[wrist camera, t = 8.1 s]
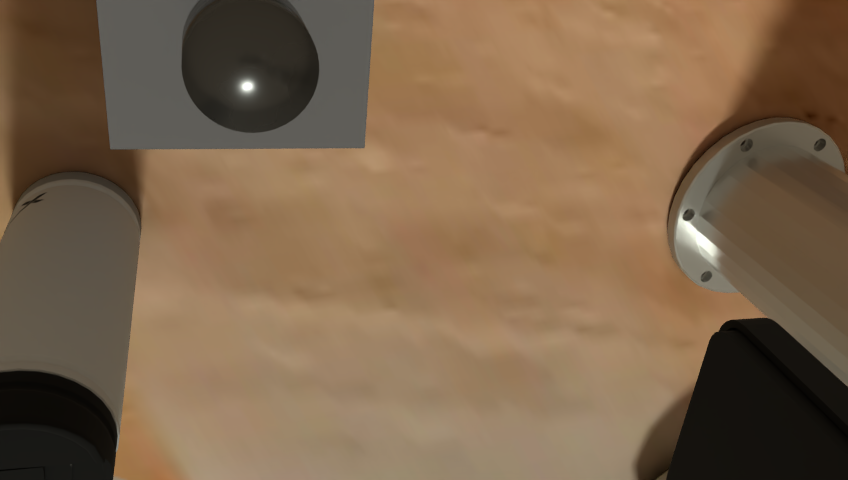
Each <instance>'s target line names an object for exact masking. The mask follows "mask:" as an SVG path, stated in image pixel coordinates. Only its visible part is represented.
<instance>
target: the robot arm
mask: <svg viewBox="0 0 848 480" xmlns="http://www.w3.org/2000/svg"><path fill="white" fill-rule="evenodd" d="M667 230H668V244H669V247H670V250H671V254H672V257H673V259H674V260H675V262H676V264H677V265H678V267H679V268H680V269H681V270H682V271H683V272H684V273H685V274H686V275H687V276H688V277H689V278H690V279H691V280H692V281H693V282H695V283H696V284H697V285H699V286H701V287H703V288H706V289H709V290H711V291H715V292H723V293H735V292H740V293H741V294H742V295H743V296H744V297H745V298H747V299H748V300H749V301H750V302H751V303H752V304H753V305H754V306H755V307H757V308H758V309H759V310H760V311H761V312H762V313H763V314H764V315H765V316H767V317H768V318H754V319H738V320H730V321H727V322H725V323H724V324H723V325H722V326H721V328H720V330H719V332H716V333H714V334H713V335H712V337H711V339H710V341H709V344H708V347H707V350H706V354H705V357H704V360H703V363H702V366H701V369H700V372H699V376H698V379H697V382H696V385H695V388H694V391H693V394H692V398H691V401H690V404H689V407H688V410H687V413H686V417H685V420H684V423H683V426H682V429H681V432H680V435H679V439H678V442H677V445H676V448H675V451H674V454H673V457H672V461H671V464H670V467H669V470H668V473H667V478H666V480H848V175H847V174H846V173H845V167H844V160H843V158H842V155H841V153H840V150H839V148H838V146H837V145H836V143H835V142H834V141H833V140H832V138H831V137H830V136H829V135H827V134H826V133H825V132H823V131H822V130H821V129H819V128H817V127H815V126H813V125H811V124H809V123H807V122H805V121H802V120H798V119H794V118H779V117H774V118H769V119H764V120H759V121H756V122H753V123H750V124H748V125H745V126H743V127H740V128H738V129H737V130H735V131H733V132H732V133H730V134H728V135H726V136H725V137H723V138H722V139H721V140H719V141H718V142H717V143H716V144H714V145H713V146H712V147H711V148H709V149H708V150H707V151H706V152H705V153H704V154H703V155H702V156H701V157H700V159H699V160H698V161H697V162H696V163H695V164H694V165H693V167H692V168H691V169H690V171H689V172H688V174H687V175H686V177H685V178H684V179H683V181H682V183H681V185H680V187H679V189H678V191H677V193H676V195H675V197H674V201H673V204H672V207H671V210H670V213H669V221H668V229H667Z"/></svg>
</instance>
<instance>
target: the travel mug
mask: <svg viewBox="0 0 848 480" xmlns="http://www.w3.org/2000/svg"><path fill="white" fill-rule="evenodd" d="M140 235H141V221H140V216H139V213H138V210H137V208H136V206H135V204H134V203H133V201H132V199H131V198H130V197H129V196H128V195H127V194H126V193H125V192H124V191H123V190H122V189H121V188H120V187H118V186H117V185H116V184H114V183H113V182H111V181H109V180H107V179H105V178H103V177H100V176H97V175H93V174H90V173H83V172H62V173H57V174H53V175H49V176H47V177H45V178H42V179H40V180H38V181H37V182H35V183H34V184H32V185H31V186H29V188H28V189H27V190H26V191H25V192H24V193H23V194H22V195H21V197H20V198H19V200H18V202H17V203H16V206H15V208H14V211H13V213H12V216H11V218H10V220H9V223H8V225H7V227H6V230H5V232H4V235H3V237H2V239H1V242H0V480H113V474H114V466H115V457H116V452H117V449H118V443H119V435H120V425H121V416H122V407H123V397H124V388H125V378H126V369H127V359H128V350H129V340H130V330H131V321H132V311H133V302H134V292H135V283H136V273H137V264H138V254H139V245H140Z"/></svg>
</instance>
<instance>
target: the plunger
mask: <svg viewBox="0 0 848 480" xmlns="http://www.w3.org/2000/svg"><path fill="white" fill-rule="evenodd" d="M181 68H182V77H183V81H184V84H185V87H186V90H187V92H188V94H189V96H190V98H191V99H192V101H193V103H194V104H195V105H196V106H197V108H198V109H199V110H200V111H201V112H202V113H203V114H204V115H205V116H207V117H208V118H209V119H210V120H212V121H213V122H215V123H217V124H218V125H221V126H223V127H225V128H228V129H231V130H234V131H239V132H246V133H259V132H266V131H270V130H274V129H277V128H279V127H281V126H283V125H286V124H287V123H289V122H290V121H292V120H293V119H295V118H296V117H297V116H298V115H299V114H300V113H301V112H302V111H303V110H304V109H305V108H306V106H307V105H308V104H309V102H310V100H311V99H312V97H313V95H314V92H315V90H316V87H317V83H318V78H319V59H318V53H317V50H316V47H315V44H314V42H313V40H312V38H311V36H310V34H309V32H308V30H307V28H306V26H305V24H304V22H303V20H302V18H301V16H300V15H299V13H298V11H297V10H296V9H295V7H294V6H293V5H292V4H291V3H290V2H289V1H288V0H199V1H198V2H197V3H196V4H195V5H194V7H193V8H192V10H191V11H190V13H189V15H188V17H187V19H186V22H185V25H184V28H183V34H182V65H181Z"/></svg>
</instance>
